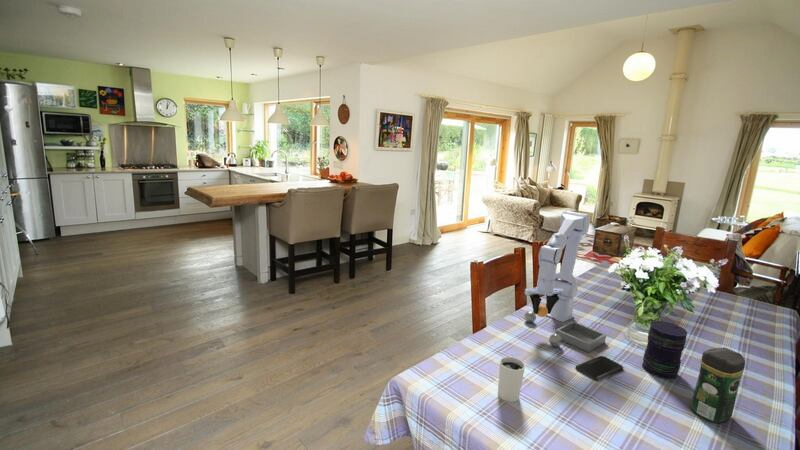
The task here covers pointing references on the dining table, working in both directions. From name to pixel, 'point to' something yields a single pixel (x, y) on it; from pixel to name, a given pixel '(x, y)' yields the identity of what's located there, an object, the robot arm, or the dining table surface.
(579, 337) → the bin
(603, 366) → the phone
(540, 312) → the orange ball
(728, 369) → the coffee jar
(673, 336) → the storage jar
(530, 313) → the steel ball
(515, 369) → the white cup
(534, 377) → the dining table surface
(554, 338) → the steel ball
